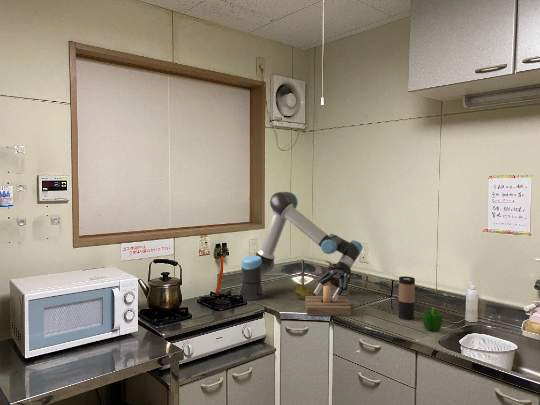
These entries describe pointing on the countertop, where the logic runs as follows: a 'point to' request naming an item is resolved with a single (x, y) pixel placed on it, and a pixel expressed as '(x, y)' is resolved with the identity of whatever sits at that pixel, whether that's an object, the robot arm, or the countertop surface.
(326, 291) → the peg
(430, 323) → the bell pepper
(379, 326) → the countertop surface
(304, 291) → the potato
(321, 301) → the hole block
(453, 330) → the countertop surface
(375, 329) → the countertop surface
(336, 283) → the mate gourd
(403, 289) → the travel mug
